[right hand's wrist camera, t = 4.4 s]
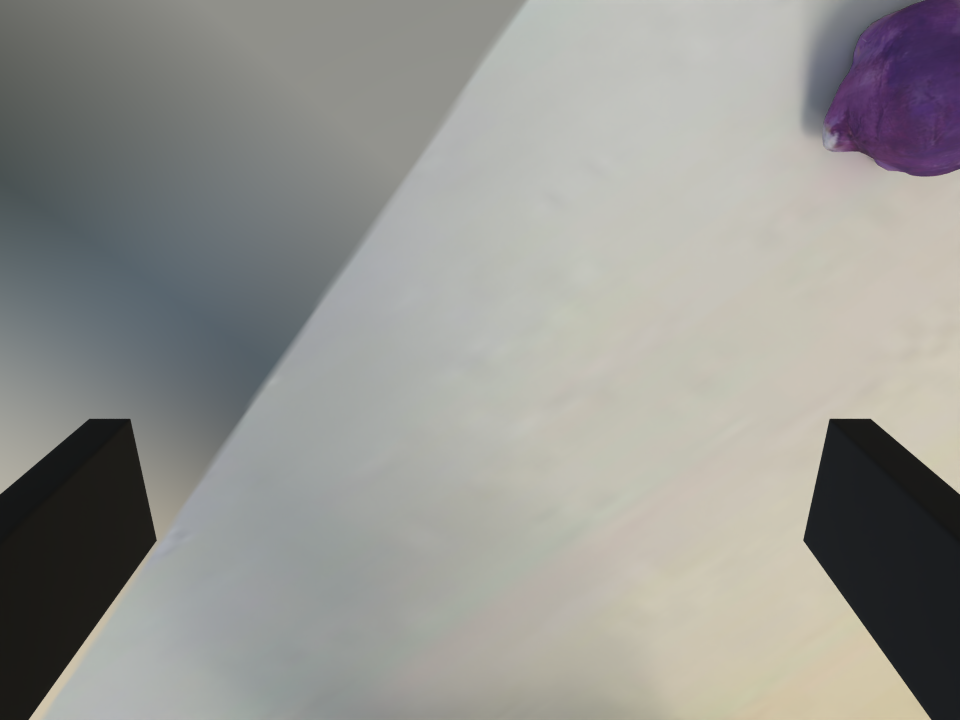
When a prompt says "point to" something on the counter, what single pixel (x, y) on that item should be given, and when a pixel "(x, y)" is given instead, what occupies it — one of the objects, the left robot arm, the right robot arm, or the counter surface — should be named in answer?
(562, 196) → the counter surface
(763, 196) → the counter surface
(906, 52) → the figurine
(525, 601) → the counter surface
